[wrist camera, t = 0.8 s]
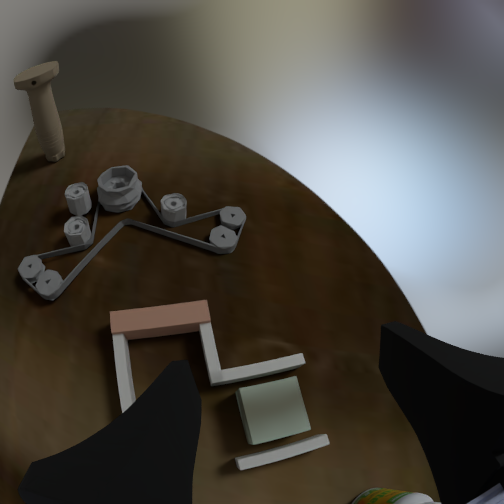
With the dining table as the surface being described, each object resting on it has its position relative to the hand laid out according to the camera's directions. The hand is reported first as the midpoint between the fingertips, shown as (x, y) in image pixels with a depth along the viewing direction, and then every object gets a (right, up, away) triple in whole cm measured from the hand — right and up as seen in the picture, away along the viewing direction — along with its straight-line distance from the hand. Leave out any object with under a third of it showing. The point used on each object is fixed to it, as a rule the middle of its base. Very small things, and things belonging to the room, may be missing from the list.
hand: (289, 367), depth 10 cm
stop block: (-10, -3, +17) cm, 20 cm away
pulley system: (-16, +7, +24) cm, 29 cm away
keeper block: (0, -10, +15) cm, 18 cm away
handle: (-31, +19, +28) cm, 45 cm away
